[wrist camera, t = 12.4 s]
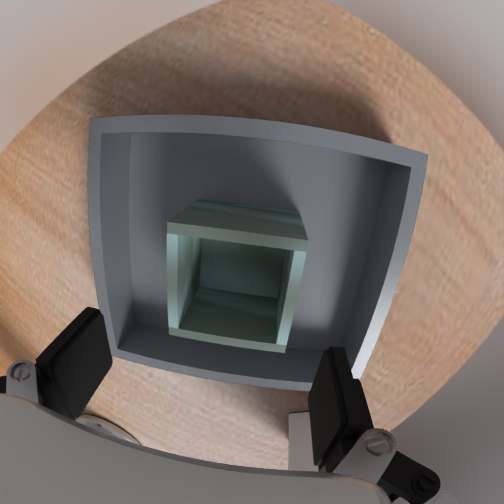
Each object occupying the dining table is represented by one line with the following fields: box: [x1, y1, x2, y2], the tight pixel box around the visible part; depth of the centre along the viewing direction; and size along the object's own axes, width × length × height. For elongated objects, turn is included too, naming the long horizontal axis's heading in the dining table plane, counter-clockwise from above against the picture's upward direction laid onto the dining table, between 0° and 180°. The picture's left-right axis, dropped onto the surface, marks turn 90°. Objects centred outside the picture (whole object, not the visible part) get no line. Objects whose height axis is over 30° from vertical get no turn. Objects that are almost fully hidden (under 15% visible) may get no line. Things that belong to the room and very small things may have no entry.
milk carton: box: [288, 412, 319, 472], centre depth 20 cm, size 7×7×19 cm
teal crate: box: [167, 199, 309, 353], centre depth 18 cm, size 7×7×6 cm
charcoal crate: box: [88, 115, 428, 391], centre depth 19 cm, size 18×20×5 cm
